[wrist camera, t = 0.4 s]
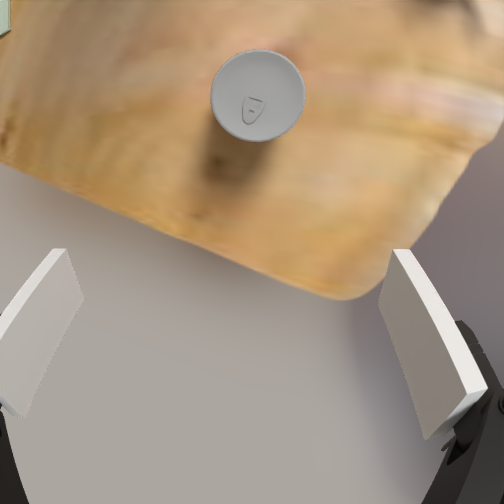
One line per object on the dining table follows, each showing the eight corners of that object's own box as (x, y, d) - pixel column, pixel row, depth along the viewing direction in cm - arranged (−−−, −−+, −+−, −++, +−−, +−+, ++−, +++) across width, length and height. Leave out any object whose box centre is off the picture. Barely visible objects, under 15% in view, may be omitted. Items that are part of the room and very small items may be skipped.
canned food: (222, 121, 34) (208, 142, 25) (224, 54, 30) (210, 47, 21) (289, 124, 34) (302, 146, 25) (294, 57, 30) (309, 52, 21)
